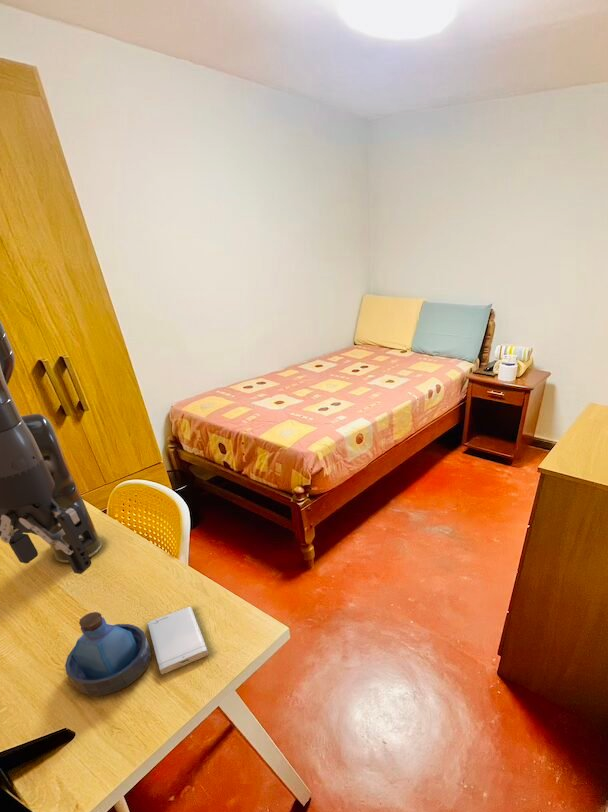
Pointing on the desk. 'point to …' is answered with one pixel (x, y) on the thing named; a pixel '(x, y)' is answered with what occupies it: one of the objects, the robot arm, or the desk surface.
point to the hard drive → (177, 640)
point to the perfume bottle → (103, 647)
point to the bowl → (116, 680)
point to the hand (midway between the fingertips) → (56, 564)
